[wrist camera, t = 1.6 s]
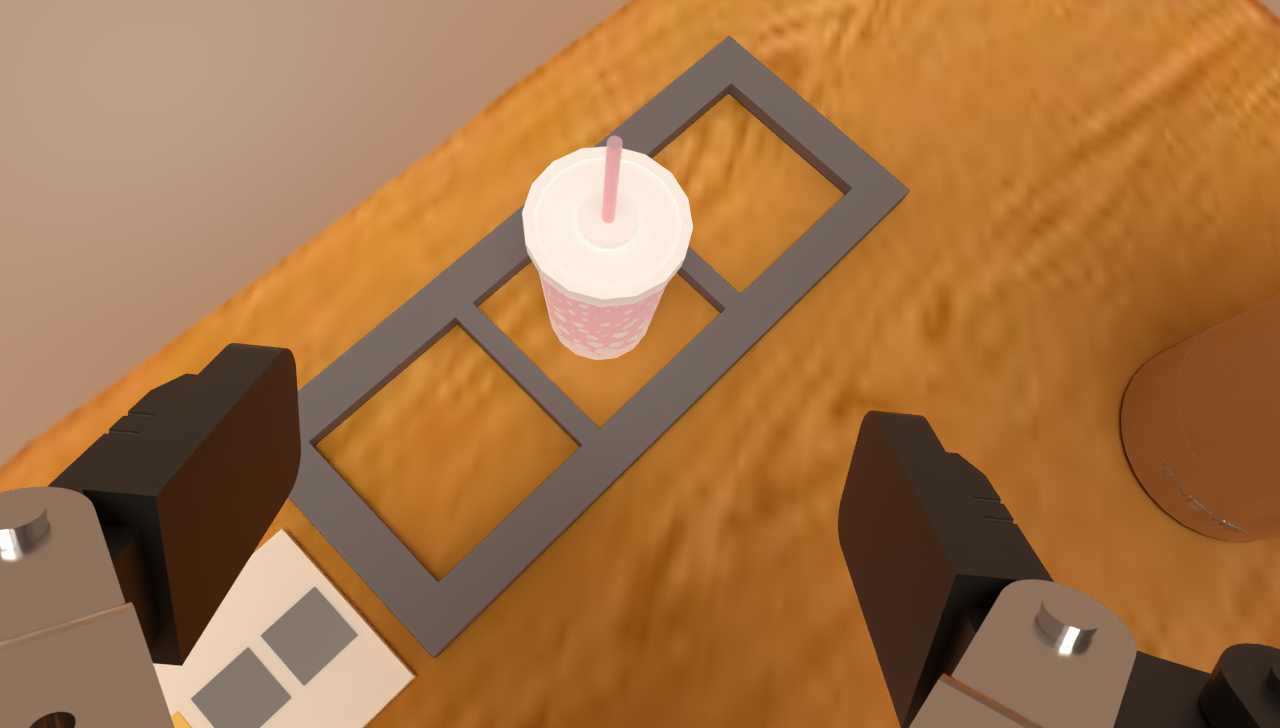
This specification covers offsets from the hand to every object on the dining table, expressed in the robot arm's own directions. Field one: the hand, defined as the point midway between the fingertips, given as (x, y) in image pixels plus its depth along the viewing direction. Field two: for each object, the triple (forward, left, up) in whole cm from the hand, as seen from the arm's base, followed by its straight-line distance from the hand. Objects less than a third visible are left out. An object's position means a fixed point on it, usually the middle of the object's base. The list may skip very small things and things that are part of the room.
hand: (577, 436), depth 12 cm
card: (+12, -6, -25) cm, 28 cm away
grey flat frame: (-9, -8, -25) cm, 27 cm away
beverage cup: (-9, -8, -25) cm, 28 cm away
